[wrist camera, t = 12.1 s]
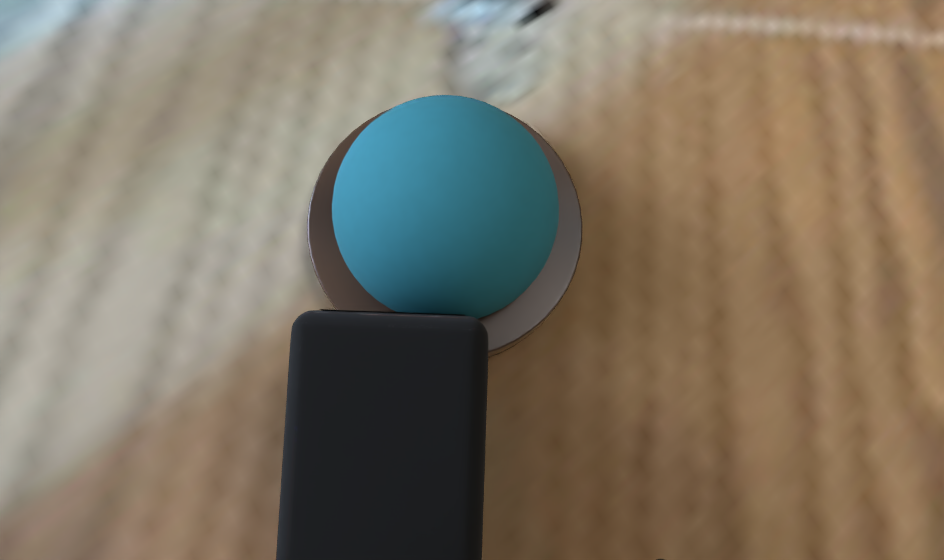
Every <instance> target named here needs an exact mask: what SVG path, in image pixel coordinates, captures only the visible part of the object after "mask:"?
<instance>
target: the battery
mask: <svg viewBox="0 0 944 560" xmlns="http://www.w3.org/2000/svg"><path fill="white" fill-rule="evenodd" d="M320 310H323V311H319V310H316V311H307V312H305V313H303V314H301V315H300V316H299V317H298V318H297V319H296V320H295V322H294V323H293V326H292V332H291V343H290V357H289V372H288V387H287V402H286V418H285V433H284V448H283V464H282V479H281V494H280V510H279V525H278V540H277V556H276V560H482V532H483V502H484V471H485V440H486V410H487V379H488V332H487V330H486V328H485V326H484V325H483V324H482V323H481V322H480V321H479V320H478V319H476V318H474V317H471V316H465V314H437V313H409V312H380V311H352V310H324V309H320Z"/></svg>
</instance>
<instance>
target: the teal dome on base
mask: <svg viewBox="0 0 944 560" xmlns="http://www.w3.org/2000/svg"><path fill="white" fill-rule="evenodd" d="M307 235H308V245H309V251H310V257H311V260H312V264H313V267H314V270H315V273H316V275H317V278H318V280H319V282H320V284H321V286H322V288H323V290H324V292H325V293H326V295H327V296H328V298H329V299H330V301H331V303H332V304H333V305H334V307H335V308H336V310H352V311H380V312H409V313H437V314H465V316H471V317H474V318H476V319H478V320H479V321H480V322H481V323H482V324H483V325H484V326H485V328H486V330H487V332H488V357H489V356H492V355H495V354H498V353H500V352H502V351H504V350H506V349H508V348H510V347H512V346H514V345H516V344H517V343H519V342H520V341H522V340H523V339H525V338H526V337H527V336H529V335H530V334H531V333H532V332H533V331H534V330H536V329H537V328H538V327H539V326H540V325H541V324H542V323H543V322H544V321H545V319H546V318H547V317H548V316H549V315H550V314H551V312H552V311H553V310H554V309H555V307H556V306H557V305H558V303H559V302H560V300H561V298H562V297H563V295H564V294H565V292H566V291H567V289H568V287H569V285H570V282H571V280H572V278H573V276H574V274H575V270H576V267H577V264H578V260H579V257H580V251H581V244H582V216H581V207H580V203H579V199H578V195H577V192H576V189H575V186H574V184H573V181H572V179H571V176H570V174H569V173H568V171H567V169H566V167H565V165H564V164H563V162H562V160H561V159H560V158H559V156H558V155H557V154H556V152H555V151H554V150H553V148H552V147H551V146H550V145H549V144H548V143H547V142H546V141H545V140H544V139H543V138H542V137H541V136H540V135H539V134H538V133H537V132H536V131H534V130H533V129H532V128H531V127H529V126H528V125H527V124H525V123H524V122H522V121H521V120H519V119H517V118H516V117H514V116H512V115H510V114H508V113H506V112H504V111H502V110H500V109H498V108H496V107H494V106H492V105H490V104H488V103H485V102H482V101H479V100H476V99H473V98H467V97H462V96H452V95H437V96H428V97H422V98H418V99H415V100H411V101H408V102H405V103H403V104H401V105H398V106H396V107H394V108H392V109H389V110H387V111H385V112H382V113H380V114H378V115H377V116H375V117H373V118H371V119H370V120H368V121H366V122H365V123H363V124H362V125H361V126H359V127H358V128H357V129H355V130H354V131H353V132H352V133H351V134H350V135H349V136H348V137H347V138H346V139H345V140H343V141H342V142H341V143H340V145H339V146H338V147H337V148H336V150H335V151H334V152H333V153H332V155H331V156H330V157H329V159H328V161H327V162H326V164H325V166H324V167H323V169H322V171H321V172H320V175H319V177H318V179H317V182H316V184H315V187H314V190H313V193H312V197H311V201H310V204H309V212H308V220H307Z"/></svg>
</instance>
